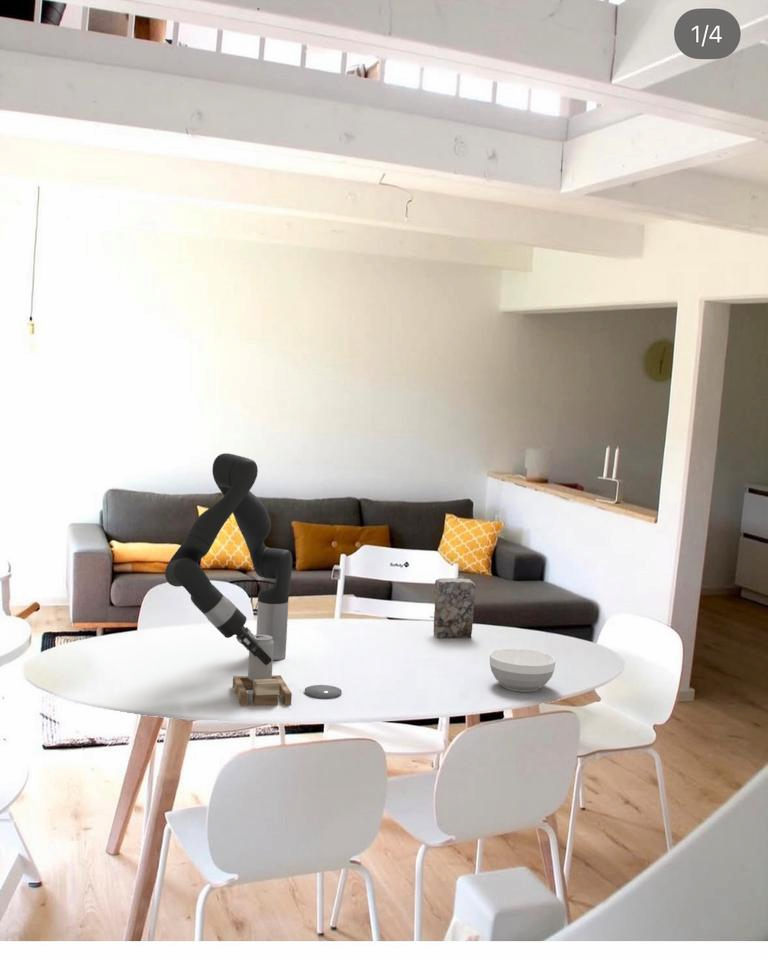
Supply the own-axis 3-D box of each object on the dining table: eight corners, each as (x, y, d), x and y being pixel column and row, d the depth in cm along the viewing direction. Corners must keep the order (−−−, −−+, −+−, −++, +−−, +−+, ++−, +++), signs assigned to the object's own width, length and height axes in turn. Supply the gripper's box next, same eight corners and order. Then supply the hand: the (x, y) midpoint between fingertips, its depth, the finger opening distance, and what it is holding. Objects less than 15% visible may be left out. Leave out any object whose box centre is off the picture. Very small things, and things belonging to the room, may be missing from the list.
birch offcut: (252, 690, 266) (253, 679, 265) (275, 689, 268) (275, 678, 267) (256, 695, 262) (257, 683, 262) (279, 694, 264) (279, 682, 264)
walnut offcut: (252, 702, 266) (252, 690, 266) (275, 701, 268) (275, 690, 267) (254, 706, 262) (255, 695, 262) (277, 706, 264) (278, 694, 264)
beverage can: (260, 675, 278) (262, 632, 277) (276, 681, 274) (278, 637, 273) (242, 680, 273) (244, 636, 272) (259, 685, 269) (261, 641, 268)
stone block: (438, 639, 346) (441, 581, 345) (430, 634, 353) (434, 577, 351) (473, 638, 351) (477, 581, 349) (465, 634, 357) (469, 577, 356)
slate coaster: (301, 688, 280) (301, 685, 280) (336, 687, 283) (336, 684, 283) (308, 699, 270) (308, 696, 270) (345, 698, 273) (345, 695, 273)
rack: (232, 687, 277) (233, 676, 277) (279, 686, 281) (280, 675, 281) (241, 706, 261) (241, 694, 261) (291, 704, 265) (291, 693, 265)
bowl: (517, 674, 308) (519, 645, 307) (567, 690, 294) (569, 660, 293) (474, 683, 295) (476, 653, 294) (524, 700, 281) (526, 669, 280)
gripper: (238, 612, 263) (282, 656, 267) (231, 600, 277) (273, 642, 281) (217, 632, 262) (260, 676, 266) (211, 619, 276) (252, 661, 280)
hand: (266, 658), depth 274 cm, fingers closed on beverage can, 6 cm apart
